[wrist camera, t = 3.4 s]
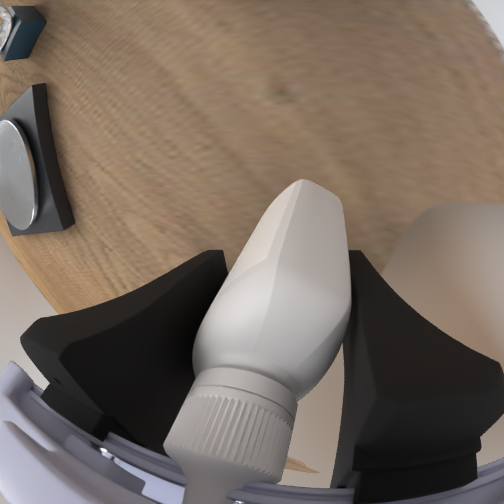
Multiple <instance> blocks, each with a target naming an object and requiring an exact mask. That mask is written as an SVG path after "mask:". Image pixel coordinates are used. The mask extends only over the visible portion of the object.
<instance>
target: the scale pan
mask: <svg viewBox="0 0 504 504" xmlns="http://www.w3.org/2000/svg"><path fill="white" fill-rule="evenodd" d="M0 209H1V211H2V213H3V214H4V216H5V217H6V219H7V220H8V221H9V222H10V223H11V224H12V225H13V226H14V227H15V228H17V229H20V230H24V229H27V228H28V227H30V226H31V225H32V224H33V222H34V221H35V218H36V215H37V210H38V183H37V175H36V169H35V164H34V160H33V156H32V152H31V149H30V145H29V143H28V140H27V138H26V135H25V133H24V131H23V130H22V128H21V127H20V125H19V124H18V123H17V122H16V121H14V120H12V119H6V120H3V121H1V122H0Z"/></svg>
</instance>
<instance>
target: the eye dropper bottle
mask: <svg viewBox="0 0 504 504" xmlns="http://www.w3.org/2000/svg"><path fill="white" fill-rule="evenodd" d="M351 304H352V300H351V275H350V263H349V253H348V244H347V235H346V228H345V220H344V213H343V207H342V203H341V200H340V199H339V198H338V197H337V196H336V195H335V194H333V193H332V192H330V191H328V190H326V189H325V188H323V187H321V186H319V185H318V184H316V183H314V182H312V181H310V180H305V179H301V180H298V181H296V182H294V183H293V184H291V185H290V186H289V187H287V188H286V189H285V190H284V191H283V192H282V193H280V194H279V195H278V196H277V198H276V199H275V200H274V201H273V202H272V203H271V204H270V206H269V207H268V208H267V210H266V211H265V213H264V214H263V216H262V218H261V219H260V221H259V223H258V225H257V226H256V228H255V230H254V231H253V233H252V235H251V237H250V238H249V240H248V242H247V243H246V245H245V247H244V249H243V250H242V252H241V254H240V256H239V257H238V259H237V261H236V262H235V264H234V266H233V268H232V269H231V271H230V273H229V275H228V276H227V278H226V280H225V281H224V283H223V285H222V287H221V288H220V290H219V292H218V294H217V296H216V297H215V299H214V301H213V303H212V304H211V306H210V308H209V310H208V312H207V313H206V315H205V317H204V319H203V321H202V323H201V325H200V327H199V330H198V332H197V335H196V338H195V342H194V346H193V353H192V364H193V370H194V374H195V377H196V379H195V381H194V383H193V385H192V387H191V389H190V391H189V393H188V395H187V397H186V399H185V401H184V403H183V405H182V407H181V409H180V411H179V414H178V416H177V418H176V420H175V422H174V424H173V426H172V428H171V430H170V432H169V434H168V436H167V438H166V440H165V442H164V444H163V447H164V449H165V452H166V453H167V454H168V455H169V456H170V457H171V459H173V460H174V461H175V462H176V463H177V464H178V465H180V467H181V469H182V471H183V473H184V475H185V476H186V479H187V486H185V491H184V496H183V502H182V504H234V503H235V502H236V501H234V500H232V499H229V498H226V497H225V496H226V495H227V493H228V492H230V491H232V490H233V489H242V488H244V485H245V484H248V483H254V482H264V483H271V484H277V483H278V482H280V481H281V478H282V474H283V470H284V466H285V462H286V458H287V454H288V449H289V445H290V440H291V436H292V431H293V426H294V421H295V416H296V411H297V406H298V404H297V401H299V400H300V399H302V398H303V397H304V396H305V395H306V394H308V393H309V392H310V391H311V390H312V389H313V388H314V387H315V386H316V385H317V384H318V382H319V381H320V380H321V379H322V378H323V376H324V375H325V373H326V372H327V370H328V369H329V368H330V366H331V365H332V363H333V361H334V359H335V357H336V356H337V354H338V352H339V349H340V347H341V345H342V342H343V340H344V337H345V334H346V330H347V327H348V324H349V319H350V313H351Z"/></svg>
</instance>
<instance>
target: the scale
mask: <svg viewBox="0 0 504 504" xmlns="http://www.w3.org/2000/svg"><path fill="white" fill-rule="evenodd" d="M6 119H12V120H14V121H16V122H17V123H18V124H19V125H20V127H21V128H22V130H23V131H24V133H25V135H26V138H27V140H28V143H29V145H30V149H31V152H32V156H33V160H34V164H35V169H36V175H37V183H38V210H37V215H36V218H35V221H34V222H33V224H32V225H31V226H30V227H28V228H27V229H24V230H20V229H17V228H15V227H14V226H13V225H12V224H11V223H10V222H9V221H8V220H7V219H6V220H7V223H8V226H9V229H10V231H11V234H12V236H19V235H28V234H36V233H46V232H55V231H64V230H66V229H67V228H69V227H70V226H72V225H74V224H75V221H74V218H73V215H72V212H71V209H70V205H69V202H68V199H67V195H66V192H65V188H64V185H63V181H62V177H61V173H60V169H59V165H58V161H57V157H56V152H55V147H54V142H53V137H52V132H51V126H50V120H49V113H48V105H47V97H46V87H45V83H42V84H36V85H32V86H31V87H29V88H28V89H27V90H26V91H25V92H24V93H23V94H22V95H21V96H20V97H19V98H18V99H17V100H16V101H15V102H14V103H13V104H12V105H11V106H10V107H9V108H8V110H7V111H6V112H5V113H4V114H3V115H2V116H1V117H0V122H1V121H3V120H6Z"/></svg>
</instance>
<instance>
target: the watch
mask: <svg viewBox="0 0 504 504" xmlns="http://www.w3.org/2000/svg"><path fill="white" fill-rule="evenodd" d="M0 15H1V18H2V19H4V21H3V23H2V25H1V27H0V55H1V57H2V59H3V61H9V60H16V59H24V58H28V57H29V54H30V52H31V50H32V48H33V46H34V44H35V42H36V40H37V38H38V36H39V34H40V32H41V31H42V29H43V27H44V25H45V23H46V21H45V20H44V18H43V17H42V16H41V15H40V14H39V12H38V11H37V10H36V9H35V8H34V7H33V6H11V7H10V9H9V10H8V9H7V7H6V6H5V5H4V4H3V3H2V2H1V1H0Z"/></svg>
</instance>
